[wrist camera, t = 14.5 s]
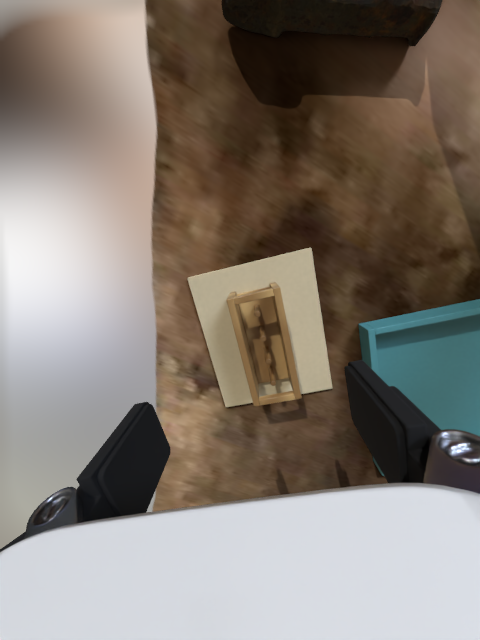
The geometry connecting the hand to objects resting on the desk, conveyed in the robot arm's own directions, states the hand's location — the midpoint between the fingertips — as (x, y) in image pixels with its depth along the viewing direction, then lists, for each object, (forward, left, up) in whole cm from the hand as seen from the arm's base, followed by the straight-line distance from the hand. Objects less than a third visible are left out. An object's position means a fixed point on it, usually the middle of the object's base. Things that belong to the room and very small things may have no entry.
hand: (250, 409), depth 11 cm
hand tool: (-13, -26, -21) cm, 36 cm away
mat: (-1, +4, -21) cm, 22 cm away
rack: (-1, +4, -21) cm, 21 cm away
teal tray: (-23, +17, -21) cm, 36 cm away
